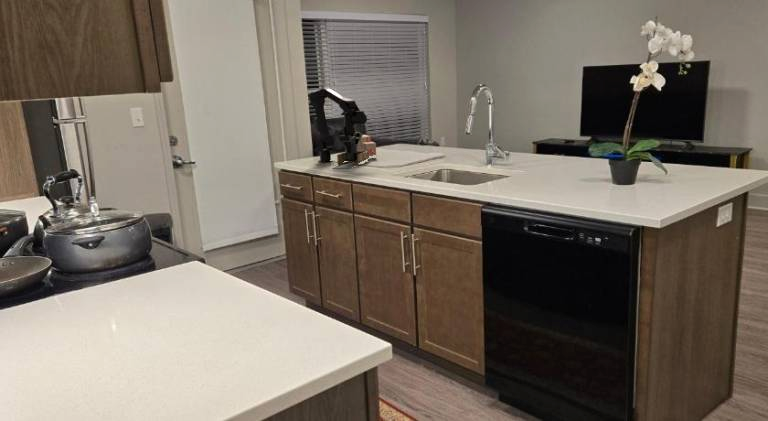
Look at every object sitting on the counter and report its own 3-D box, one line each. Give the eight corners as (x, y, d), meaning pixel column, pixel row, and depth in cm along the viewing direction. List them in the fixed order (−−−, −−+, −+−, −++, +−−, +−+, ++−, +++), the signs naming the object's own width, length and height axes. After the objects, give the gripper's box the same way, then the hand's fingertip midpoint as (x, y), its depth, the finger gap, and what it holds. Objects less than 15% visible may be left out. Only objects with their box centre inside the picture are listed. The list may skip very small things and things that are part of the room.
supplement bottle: (352, 159, 320) (351, 137, 317) (361, 160, 315) (359, 138, 312) (343, 161, 315) (341, 139, 312) (351, 162, 310) (350, 139, 308)
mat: (340, 165, 312) (340, 164, 312) (357, 165, 309) (356, 165, 309) (332, 168, 303) (332, 168, 303) (349, 169, 300) (349, 168, 300)
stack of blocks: (376, 159, 331) (375, 137, 328) (366, 160, 329) (365, 138, 326) (366, 154, 351) (365, 134, 348) (356, 155, 349) (355, 135, 346)
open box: (348, 161, 326) (347, 150, 324) (369, 161, 321) (368, 150, 320) (337, 165, 313) (337, 154, 311) (359, 165, 308) (358, 154, 307)
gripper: (343, 122, 322) (345, 150, 325) (328, 125, 305) (330, 155, 308) (361, 121, 318) (363, 150, 321) (348, 125, 301) (349, 155, 305)
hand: (351, 152), depth 314 cm, fingers closed on supplement bottle, 7 cm apart
